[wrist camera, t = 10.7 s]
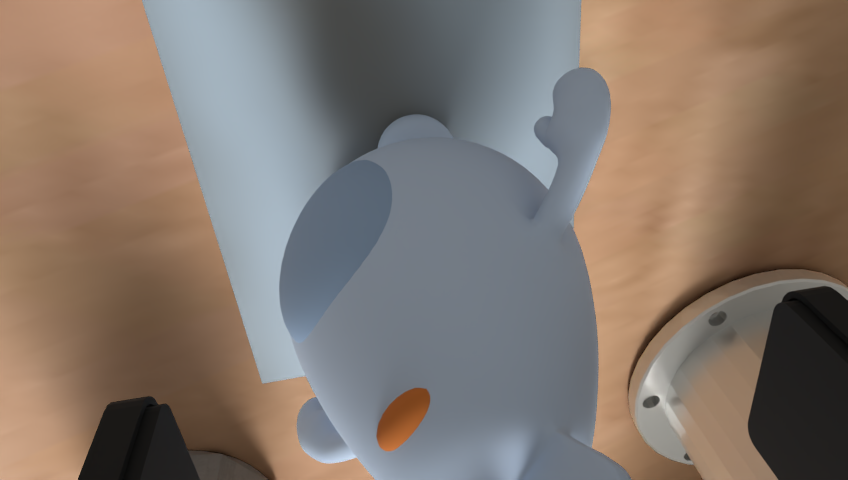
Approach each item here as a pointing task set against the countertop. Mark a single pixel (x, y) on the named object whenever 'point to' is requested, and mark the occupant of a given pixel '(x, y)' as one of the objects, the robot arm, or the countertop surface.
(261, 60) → the silver block
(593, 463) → the toy figure
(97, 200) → the countertop surface
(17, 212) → the countertop surface
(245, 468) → the coffeepot
